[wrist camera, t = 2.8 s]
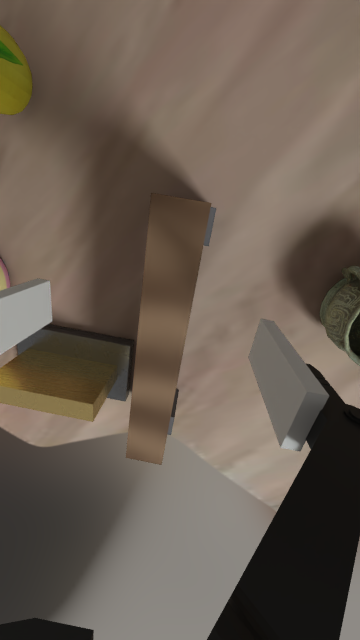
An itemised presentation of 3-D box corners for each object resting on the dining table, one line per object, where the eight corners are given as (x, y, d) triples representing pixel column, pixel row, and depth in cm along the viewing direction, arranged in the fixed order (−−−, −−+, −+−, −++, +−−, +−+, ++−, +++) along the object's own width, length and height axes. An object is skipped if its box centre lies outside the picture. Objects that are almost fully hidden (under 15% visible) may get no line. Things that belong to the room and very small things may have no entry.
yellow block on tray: (22, 319, 30) (-41, 352, 23) (133, 340, 30) (108, 381, 22) (29, 374, 34) (-23, 419, 26) (128, 394, 34) (105, 445, 26)
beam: (161, 198, 19) (151, 192, 15) (210, 207, 19) (211, 203, 15) (135, 428, 29) (125, 457, 25) (166, 434, 29) (161, 464, 25)
